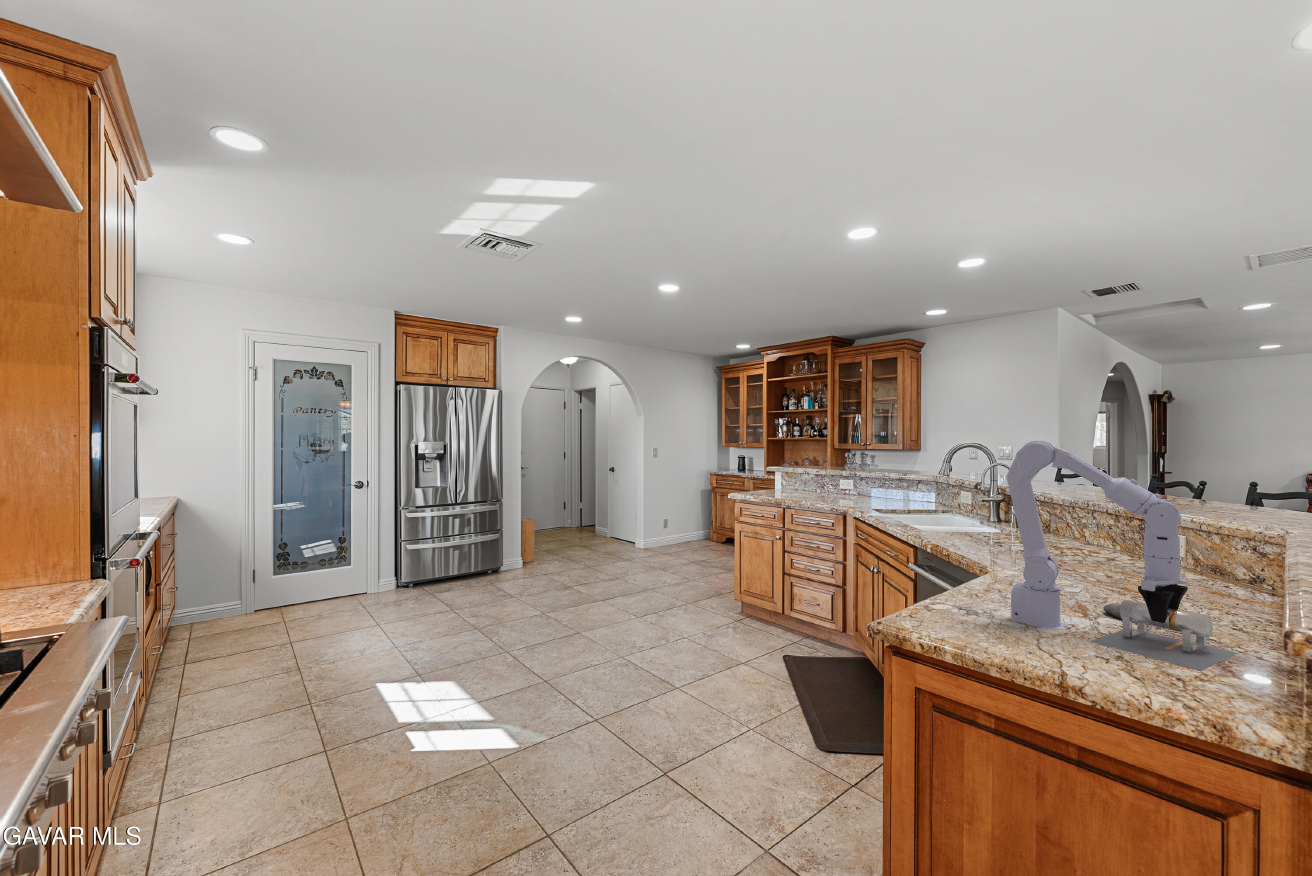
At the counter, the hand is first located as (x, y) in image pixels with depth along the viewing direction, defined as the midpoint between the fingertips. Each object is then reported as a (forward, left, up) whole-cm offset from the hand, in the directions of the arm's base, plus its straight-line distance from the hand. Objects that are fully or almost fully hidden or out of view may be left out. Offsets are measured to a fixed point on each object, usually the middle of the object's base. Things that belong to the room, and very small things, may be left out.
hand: (1163, 619), depth 119 cm
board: (+1, -4, -5) cm, 7 cm away
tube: (0, 0, -2) cm, 2 cm away
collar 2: (+5, 0, -5) cm, 7 cm away
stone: (-9, +16, -6) cm, 19 cm away
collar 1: (-5, 0, -5) cm, 7 cm away
